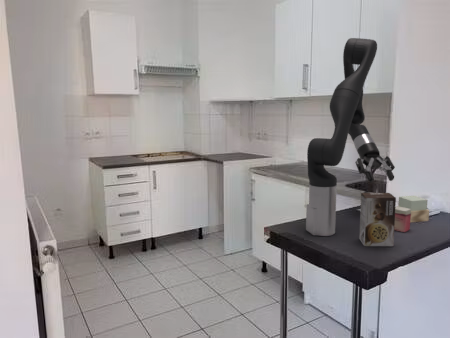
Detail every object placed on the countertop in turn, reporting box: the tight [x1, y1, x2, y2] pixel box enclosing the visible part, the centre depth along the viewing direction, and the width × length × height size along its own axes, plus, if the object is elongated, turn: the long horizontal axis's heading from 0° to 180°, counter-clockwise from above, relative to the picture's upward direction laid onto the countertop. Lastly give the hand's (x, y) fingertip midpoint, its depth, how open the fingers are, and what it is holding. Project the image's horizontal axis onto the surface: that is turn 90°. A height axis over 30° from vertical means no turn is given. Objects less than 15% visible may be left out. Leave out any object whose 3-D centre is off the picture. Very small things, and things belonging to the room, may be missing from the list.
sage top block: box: [397, 195, 428, 211], centre depth 138 cm, size 7×7×4 cm
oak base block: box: [410, 208, 430, 224], centre depth 139 cm, size 8×8×4 cm
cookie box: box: [358, 192, 397, 247], centre depth 114 cm, size 9×6×16 cm
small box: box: [394, 205, 411, 233], centre depth 127 cm, size 5×4×8 cm
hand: (382, 180), depth 136 cm, fingers open, 8 cm apart
